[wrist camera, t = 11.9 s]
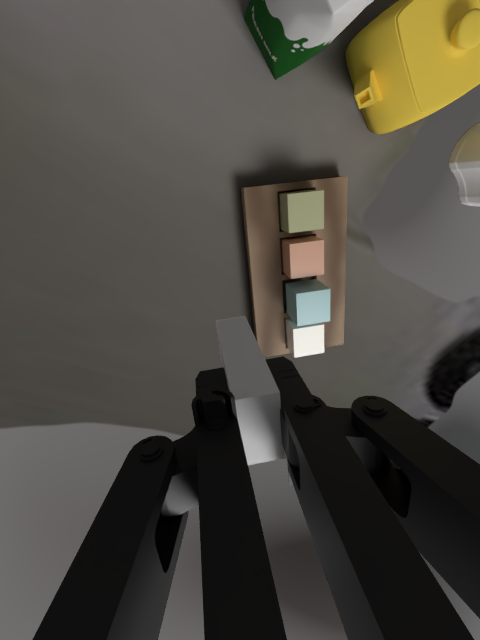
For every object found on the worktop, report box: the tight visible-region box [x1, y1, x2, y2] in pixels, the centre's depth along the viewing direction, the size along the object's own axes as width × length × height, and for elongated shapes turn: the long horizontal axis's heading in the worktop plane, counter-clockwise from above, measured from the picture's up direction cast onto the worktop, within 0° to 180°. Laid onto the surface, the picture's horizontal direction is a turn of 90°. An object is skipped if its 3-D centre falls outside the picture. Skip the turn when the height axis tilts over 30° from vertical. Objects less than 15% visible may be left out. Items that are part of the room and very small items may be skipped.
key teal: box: [286, 279, 330, 326], centre depth 46 cm, size 5×5×5 cm
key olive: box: [277, 190, 324, 233], centre depth 43 cm, size 5×5×5 cm
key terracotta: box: [280, 235, 324, 279], centre depth 45 cm, size 5×5×5 cm
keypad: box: [241, 176, 348, 357], centre depth 49 cm, size 14×25×2 cm, turn 6°
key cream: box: [284, 318, 324, 358], centre depth 50 cm, size 5×5×5 cm
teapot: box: [345, 0, 480, 134], centre depth 37 cm, size 20×12×12 cm, turn 120°
